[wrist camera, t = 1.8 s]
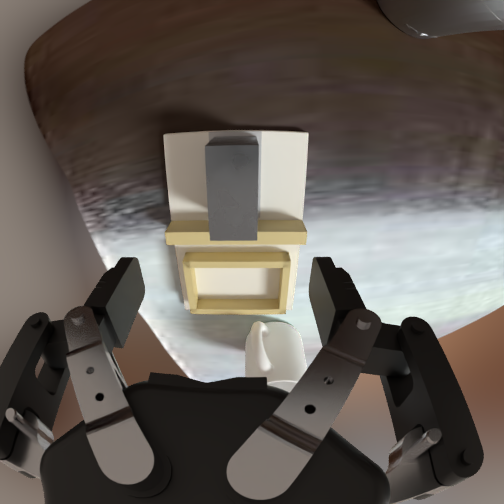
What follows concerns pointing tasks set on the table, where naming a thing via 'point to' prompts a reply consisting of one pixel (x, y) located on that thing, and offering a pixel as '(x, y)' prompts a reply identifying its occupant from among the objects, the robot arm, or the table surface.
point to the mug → (275, 354)
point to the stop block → (232, 187)
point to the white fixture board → (238, 252)
